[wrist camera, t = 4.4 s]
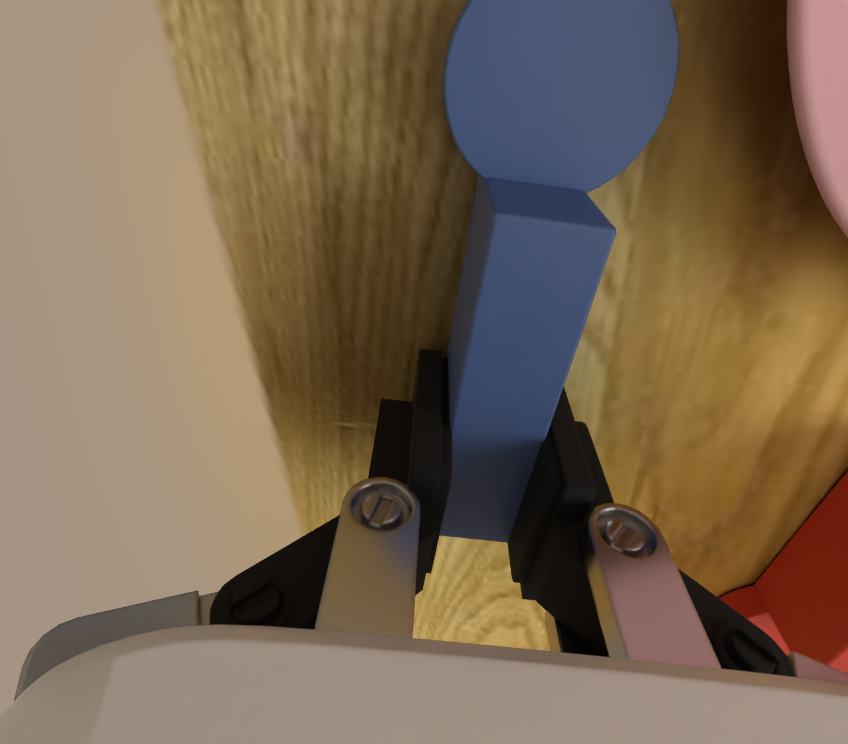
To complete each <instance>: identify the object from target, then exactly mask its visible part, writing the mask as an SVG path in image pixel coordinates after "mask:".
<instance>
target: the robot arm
mask: <svg viewBox="0 0 848 744" xmlns="http://www.w3.org/2000/svg"><path fill="white" fill-rule="evenodd" d="M452 467H453V456H452V431H451V430H450V429H449V387H448V358H443V357H442V351H435V350H427V349H419V355H418V362H417V369H416V376H415V383H414V390H413V397H412V402H408V401H400V400H391V399H383V398H382V399H381V403H380V410H379V416H378V422H377V428H376V434H375V440H374V446H373V452H372V459H371V465H370V471H369V477H368V479H365V480H362V481H360V482H358V483H357V484H355V485H353V486H352V487H351V488H350V490H349V491H348V492H347V493H346V495H345V498H344V500H343V503H342V508H341V512H340V515H339V516H337V517H335V518H334V519H332V520H330V521H329V522H327V523H325V524H324V525H322V526H320V527H318V528H317V529H315V530H313V531H312V532H310V533H308V534H306V535H305V536H303V537H301V538H300V539H298V540H296V541H295V542H293V543H291V544H289V545H288V546H286V547H284V548H283V549H281V550H279V551H278V552H276V553H274V554H272V555H271V556H269V557H267V558H265V559H264V560H262V561H260V562H259V563H257V564H255V565H254V566H252V567H250V568H248V569H247V570H245V571H243V572H242V573H240V574H238V575H236V576H235V577H234V578H232V579H231V580H230V581H228V582H227V583H226V584H225V585H224V586H223V587H222V588H221V589H220V591H219V592H215V593H211V594H207V595H203V596H199V593H198V591H194V592H189V593H185V594H181V595H176V596H171V597H167V598H163V599H158V600H153V601H149V602H145V603H140V604H136V605H131V606H127V607H122V608H118V609H113V610H110V611H105V612H100V613H96V614H92V615H87V616H83V617H78V618H75V619H72V620H70V621H67V622H65V623H62V624H59V625H58V626H56V627H55V628H53V629H52V630H50V631H49V632H48V633H46V634H45V635H43V636H42V637H41V638H40V640H39V641H38V642H37V643H36V644H35V645H34V646H33V647H32V649H31V650H30V651H29V653H28V656H27V658H26V660H25V662H24V664H23V666H22V670H21V674H20V678H19V682H18V686H17V691H16V695H15V699H14V702H13V703H12V704H11V705H10V706H9V707H8V708H7V710H6V711H5V712H4V713H3V714H2V715H1V716H0V744H848V674H847V673H845V672H842V671H840V670H837V669H835V668H833V667H830V666H828V665H826V664H823V663H821V662H819V661H816V660H814V659H811V658H809V657H807V656H804V655H802V654H800V653H797V652H795V651H793V650H792V651H791V652H790V653H789V654H788V655H786V654H785V653H784V652H783V650H782V649H781V648H780V647H779V646H778V644H777V643H776V642H775V641H774V640H773V639H772V638H771V637H770V636H769V635H767V634H766V633H765V632H764V631H763V630H762V629H760V628H759V627H757V626H756V625H755V624H753V623H752V622H751V621H749V620H748V619H746V618H745V617H744V616H742V615H741V614H740V613H738V612H737V611H735V610H734V609H733V608H731V607H730V606H729V605H727V604H726V603H724V602H723V601H722V600H720V599H719V598H718V597H716V596H715V595H713V594H712V593H711V592H709V591H708V590H707V589H705V588H704V587H703V586H701V585H700V584H698V583H697V582H696V581H694V580H693V579H692V578H690V577H689V576H687V575H686V574H685V573H683V572H682V571H681V570H679V569H678V568H677V566H676V564H675V561H674V559H673V557H672V555H671V552H670V550H669V548H668V546H667V543H666V541H665V539H664V536H663V535H662V533H661V531H660V530H659V528H658V527H657V526H656V525H655V523H654V522H653V521H652V520H651V519H650V518H649V517H647V516H646V515H644V514H643V513H641V512H640V511H638V510H636V509H634V508H631V507H629V506H627V505H622V504H618V503H614V501H613V498H612V495H611V492H610V490H609V487H608V484H607V481H606V478H605V475H604V473H603V470H602V467H601V464H600V461H599V459H598V456H597V453H596V450H595V447H594V444H593V442H592V439H591V436H590V433H589V430H588V428H587V426H586V424H585V423H583V422H576V421H575V420H574V417H573V414H572V411H571V408H570V405H569V402H568V399H567V395H566V392H565V389H564V386H563V389H562V392H561V395H560V398H559V401H558V404H557V407H556V410H555V412H554V415H553V418H552V421H551V424H550V427H549V430H548V433H547V436H546V439H545V441H543V442H542V444H541V447H540V450H539V453H538V456H537V458H536V461H535V464H534V467H533V470H532V473H531V476H530V479H529V482H528V485H527V488H526V491H525V494H524V497H523V500H522V503H521V505H520V508H519V511H518V514H517V517H516V520H515V523H514V526H513V529H512V532H511V535H510V538H509V541H508V550H509V558H510V567H511V575H512V579H513V581H514V582H518V583H520V585H521V592H522V599H529V600H536V601H537V602H538V603H539V604H540V605H541V606H542V607H543V608H544V609H545V610H546V613H545V624H546V630H547V635H548V641H549V646H550V651H542V650H531V649H521V648H511V647H501V646H490V645H480V644H470V643H459V642H448V641H437V640H427V639H416V638H413V623H414V607H415V595H417V594H418V593H419V592H420V591H422V590H423V585H424V581H425V576H426V573H431V571H432V566H433V562H434V557H435V553H436V548H437V544H438V539H439V534H440V530H441V525H442V521H443V516H444V512H445V507H446V503H447V498H448V494H449V489H450V484H451V478H452Z"/></svg>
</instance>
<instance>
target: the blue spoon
mask: <svg viewBox="0 0 848 744" xmlns="http://www.w3.org/2000/svg"><path fill="white" fill-rule="evenodd" d="M678 62H679V37H678V28H677V23H676V17H675V13H674V10H673V7H672V4H671V1H670V0H468V1H467V3H466V4H465V6H464V8H463V10H462V11H461V13H460V15H459V17H458V19H457V22H456V24H455V26H454V28H453V31H452V34H451V37H450V40H449V44H448V47H447V52H446V57H445V63H444V75H443V91H444V105H445V111H446V117H447V121H448V124H449V128H450V131H451V134H452V136H453V139H454V141H455V143H456V145H457V147H458V149H459V151H460V152H461V154H462V156H463V157H464V159H465V160H466V162H467V163H468V164H469V165H470V167H471V168H472V169H473V170H474V171H475V172H476V173H477V174H478V181H477V186H476V192H475V198H474V203H473V209H472V215H471V220H470V226H469V231H468V237H467V243H466V248H465V254H464V260H463V265H462V271H461V276H460V282H459V288H458V293H457V299H456V305H455V310H454V316H453V321H452V327H451V333H450V338H449V344H448V350H447V355H446V358H448V387H449V429H450V430H451V431H452V456H453V467H452V478H451V484H450V489H449V494H448V498H447V503H446V507H445V512H444V516H443V521H442V525H441V530H440V534H439V535H441V536H450V537H460V538H469V539H478V540H488V541H497V542H508V541H509V538H510V535H511V532H512V529H513V526H514V523H515V520H516V517H517V514H518V511H519V508H520V505H521V503H522V500H523V497H524V494H525V491H526V488H527V485H528V482H529V479H530V476H531V473H532V470H533V467H534V464H535V461H536V458H537V456H538V453H539V450H540V447H541V444H542V442H543V441H545V439H546V436H547V433H548V430H549V427H550V424H551V421H552V418H553V415H554V412H555V410H556V407H557V404H558V401H559V398H560V395H561V392H562V389H563V386H564V383H565V380H566V377H567V375H568V372H569V369H570V366H571V363H572V360H573V357H574V354H575V351H576V348H577V345H578V342H579V340H580V337H581V334H582V331H583V328H584V325H585V322H586V319H587V316H588V313H589V310H590V307H591V305H592V302H593V299H594V296H595V293H596V290H597V287H598V284H599V281H600V278H601V275H602V272H603V270H604V267H605V264H606V261H607V258H608V255H609V252H610V249H611V246H612V243H613V240H614V237H615V235H616V229H615V227H614V226H613V225H612V224H611V223H610V221H609V220H608V219H607V218H606V217H605V215H604V214H603V213H602V212H601V211H600V209H599V208H598V207H597V206H596V205H595V203H594V202H593V201H592V200H591V199H590V197H589V196H588V195H587V194H586V193H587V192H589V191H591V190H593V189H595V188H598V187H599V186H601V185H603V184H604V183H606V182H608V181H609V180H611V179H612V178H614V177H615V176H616V175H618V174H619V173H620V172H621V171H623V170H624V169H625V168H626V167H627V166H628V165H629V164H630V163H631V162H632V161H633V160H634V159H635V158H636V157H637V156H638V155H639V154H640V153H641V151H642V150H643V149H644V148H645V147H646V145H647V144H648V142H649V141H650V139H651V138H652V137H653V135H654V134H655V132H656V130H657V128H658V127H659V125H660V123H661V121H662V119H663V117H664V115H665V112H666V110H667V108H668V105H669V103H670V100H671V97H672V93H673V90H674V86H675V82H676V76H677V71H678Z"/></svg>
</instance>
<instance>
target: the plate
mask: <svg viewBox="0 0 848 744" xmlns="http://www.w3.org/2000/svg"><path fill="white" fill-rule="evenodd" d="M787 50H788V68H789V77H790V86H791V94H792V101H793V106H794V112H795V117H796V122H797V127H798V131H799V135H800V139H801V142H802V146H803V150H804V153H805V156H806V159H807V162H808V165H809V168H810V171H811V173H812V176H813V178H814V181H815V183H816V185H817V187H818V190H819V192H820V194H821V196H822V198H823V200H824V202H825V204H826V206H827V207H828V209H829V211H830V213H831V215H832V216H833V218H834V220H835V221H836V222H837V224H838V225H839V227H840V228H841V230H842V231H843V233H844V234H845V236H846V237H847V238H848V0H787Z"/></svg>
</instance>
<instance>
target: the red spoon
mask: <svg viewBox="0 0 848 744" xmlns="http://www.w3.org/2000/svg"><path fill="white" fill-rule="evenodd" d="M719 599H720V600H722V601H723V602H724V603H726V604H727V605H729V606H730V607H731V608H733V609H734V610H735V611H737V612H738V613H740V614H741V615H742V616H744V617H745V618H746V619H748V620H749V621H751V622H752V623H753V624H755V625H756V626H757V627H759V628H760V629H762V630H763V631H764V632H765V633H766V634H767V635H769V636H770V637H771V638H772V639H773V640H774V641H775V642H776V643H777V644H778V646H779V647H780V648H781V649H782V650H783V652H784V653H785V654H786V655H788V654H789V653H790V652H791V651H792V650H793V651H795V652H797V653H800V654H802V655H804V656H807V657H809V658H811V659H814V660H816V661H819V662H821V663H823V664H826V665H828V666H830V667H833V668H835V669H837V670H840V671H842V672H845V673H847V674H848V471H847V472H846V473H845V474H844V476H843V477H842V478H841V479H840V480H839V482H838V483H837V484H836V485H835V487H834V488H833V489H832V490H831V491H830V493H829V494H828V495H827V496H826V498H825V499H824V500H823V501H822V503H821V504H820V505H819V506H818V507H817V509H816V510H815V511H814V512H813V514H812V515H811V516H810V517H809V518H808V520H807V521H806V522H805V523H804V525H803V526H802V527H801V528H800V529H799V531H798V532H797V533H796V534H795V536H794V537H793V538H792V539H791V540H790V542H789V543H788V544H787V545H786V547H785V548H784V549H783V550H782V551H781V553H780V554H779V555H778V556H777V558H776V559H775V560H774V561H773V562H772V564H771V565H770V566H769V567H768V569H767V570H766V571H765V572H764V573H763V575H762V576H761V577H760V578H759V580H758V581H757V582H756V583H755V584H754V585H753V586H749V587H745V588H741V589H738V590H735V591H733V592H730V593H728V594H726V595H724V596H722V597H720V598H719Z"/></svg>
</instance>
